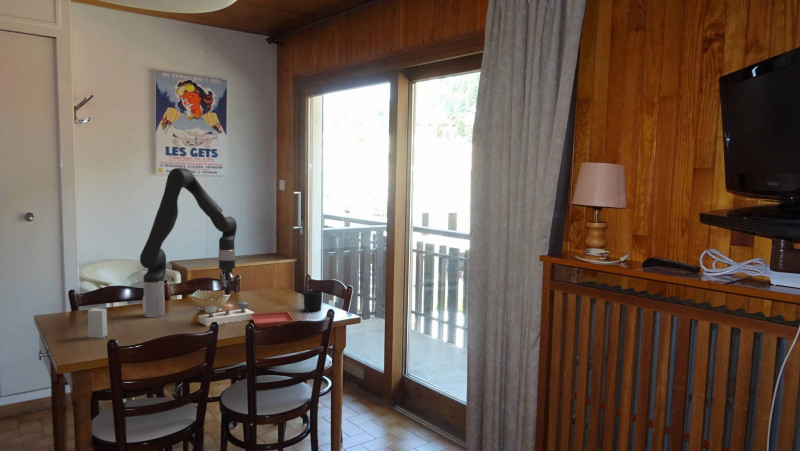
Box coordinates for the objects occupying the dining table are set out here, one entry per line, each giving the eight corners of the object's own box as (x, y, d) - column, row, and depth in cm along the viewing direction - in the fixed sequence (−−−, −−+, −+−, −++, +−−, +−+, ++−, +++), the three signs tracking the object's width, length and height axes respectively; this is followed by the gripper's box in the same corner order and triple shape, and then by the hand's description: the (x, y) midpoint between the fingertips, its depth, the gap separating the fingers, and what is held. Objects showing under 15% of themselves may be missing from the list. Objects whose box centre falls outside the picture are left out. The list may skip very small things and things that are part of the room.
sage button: (207, 319, 260) (207, 308, 259) (203, 317, 264) (203, 306, 263) (218, 318, 263) (218, 307, 263) (214, 315, 267) (214, 305, 267)
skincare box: (107, 335, 239) (107, 308, 238) (102, 338, 235) (102, 310, 234) (93, 335, 239) (92, 308, 238) (88, 338, 235) (87, 310, 234)
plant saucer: (250, 320, 271) (250, 313, 271) (287, 317, 278) (287, 311, 277) (255, 330, 254) (255, 323, 254) (294, 327, 261) (294, 320, 261)
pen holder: (302, 308, 296) (302, 289, 295) (320, 307, 298) (320, 289, 297) (304, 312, 287) (304, 293, 286) (322, 311, 289) (322, 292, 288)
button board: (206, 326, 257) (206, 320, 257) (198, 321, 265) (198, 315, 265) (255, 318, 273) (255, 312, 272) (246, 314, 280) (246, 308, 280)
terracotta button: (224, 317, 265) (224, 306, 264) (219, 314, 269) (219, 304, 268) (234, 315, 268) (234, 305, 268) (230, 313, 272) (230, 303, 272)
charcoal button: (240, 314, 270) (240, 304, 270) (235, 312, 274) (235, 302, 274) (250, 313, 273) (250, 303, 273) (245, 311, 277) (245, 301, 277)
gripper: (213, 257, 269) (214, 293, 270) (225, 261, 259) (225, 297, 260) (228, 256, 274) (229, 291, 275) (240, 259, 264) (240, 295, 265)
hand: (227, 294), depth 268 cm, fingers closed
